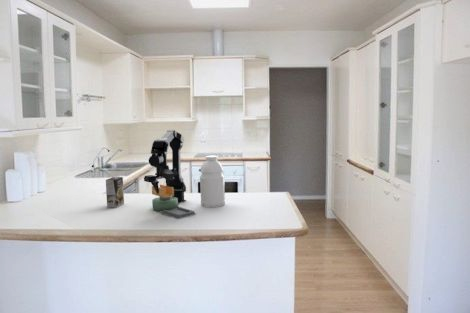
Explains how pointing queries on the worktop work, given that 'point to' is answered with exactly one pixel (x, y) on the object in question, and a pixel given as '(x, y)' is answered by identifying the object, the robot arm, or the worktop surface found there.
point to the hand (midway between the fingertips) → (162, 192)
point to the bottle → (212, 183)
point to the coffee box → (114, 192)
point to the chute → (164, 191)
